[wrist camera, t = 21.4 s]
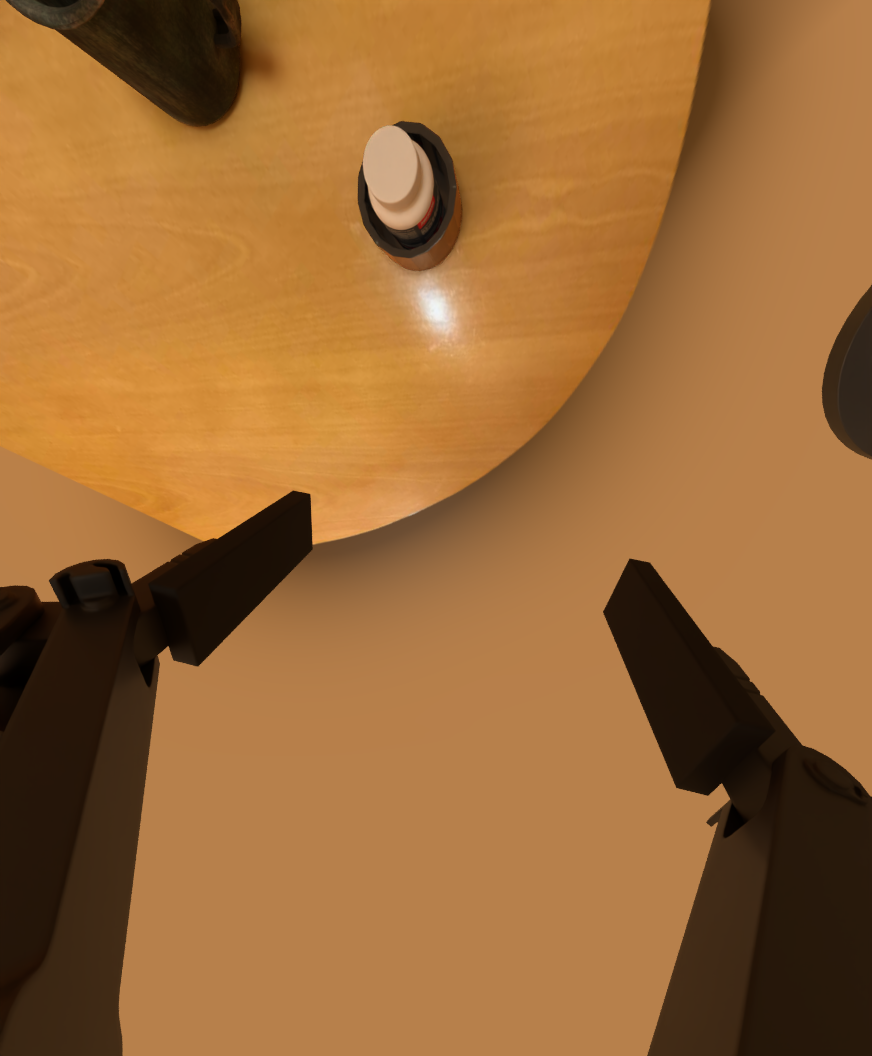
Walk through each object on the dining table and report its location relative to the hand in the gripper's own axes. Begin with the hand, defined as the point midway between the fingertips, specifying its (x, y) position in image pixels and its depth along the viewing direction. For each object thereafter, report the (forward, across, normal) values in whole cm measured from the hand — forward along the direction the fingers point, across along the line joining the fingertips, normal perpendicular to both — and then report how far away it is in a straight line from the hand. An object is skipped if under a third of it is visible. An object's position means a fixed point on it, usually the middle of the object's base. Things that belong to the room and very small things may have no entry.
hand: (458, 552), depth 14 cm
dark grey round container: (+29, -10, +18) cm, 35 cm away
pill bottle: (+28, -10, +18) cm, 35 cm away
